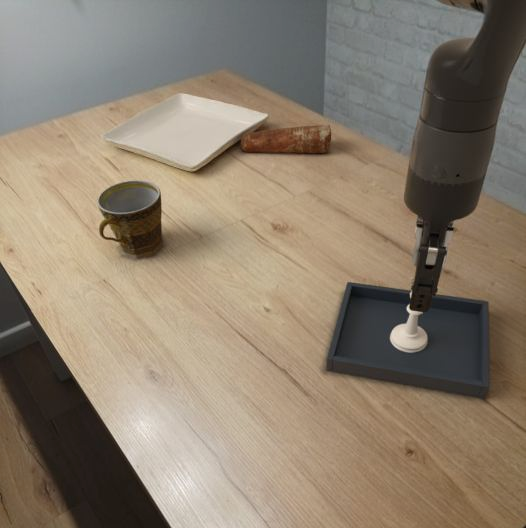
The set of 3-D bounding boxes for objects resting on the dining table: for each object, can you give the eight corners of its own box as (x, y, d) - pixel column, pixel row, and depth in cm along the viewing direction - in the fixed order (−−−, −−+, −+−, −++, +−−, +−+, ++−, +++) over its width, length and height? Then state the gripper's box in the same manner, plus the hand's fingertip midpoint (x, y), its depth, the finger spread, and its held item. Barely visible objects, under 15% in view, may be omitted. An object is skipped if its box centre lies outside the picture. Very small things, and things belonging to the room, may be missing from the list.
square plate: (101, 152, 114) (96, 134, 111) (182, 106, 129) (179, 90, 126) (195, 183, 103) (192, 164, 100) (271, 129, 117) (271, 111, 115)
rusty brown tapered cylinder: (330, 158, 107) (331, 132, 103) (239, 157, 109) (237, 131, 105) (331, 144, 111) (332, 118, 107) (244, 143, 113) (242, 117, 109)
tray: (483, 315, 73) (488, 301, 71) (483, 401, 63) (489, 387, 61) (346, 295, 78) (347, 281, 76) (325, 372, 68) (326, 358, 66)
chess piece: (387, 326, 72) (397, 269, 64) (423, 326, 71) (437, 269, 64) (392, 353, 68) (403, 296, 61) (430, 352, 68) (446, 295, 61)
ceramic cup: (136, 226, 93) (122, 175, 86) (182, 238, 90) (172, 186, 83) (90, 268, 86) (71, 216, 78) (139, 283, 82) (124, 230, 75)
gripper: (488, 204, 46) (450, 331, 58) (488, 131, 55) (455, 255, 67) (402, 195, 48) (382, 321, 59) (415, 127, 57) (396, 248, 69)
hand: (421, 286), depth 63 cm, fingers open, 8 cm apart
